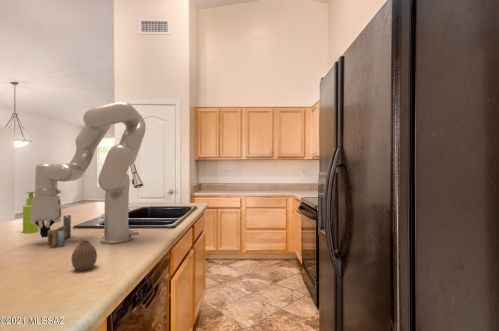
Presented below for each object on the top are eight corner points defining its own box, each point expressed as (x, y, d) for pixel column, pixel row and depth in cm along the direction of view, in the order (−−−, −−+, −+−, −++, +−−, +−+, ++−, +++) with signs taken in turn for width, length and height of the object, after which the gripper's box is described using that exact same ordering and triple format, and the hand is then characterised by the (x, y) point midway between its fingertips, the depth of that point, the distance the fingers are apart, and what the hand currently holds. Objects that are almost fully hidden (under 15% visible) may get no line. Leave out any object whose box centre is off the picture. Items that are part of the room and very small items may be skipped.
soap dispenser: (31, 233, 131) (31, 192, 132) (19, 233, 133) (20, 192, 133) (42, 231, 137) (43, 191, 137) (31, 230, 139) (31, 191, 139)
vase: (91, 263, 91) (91, 237, 91) (100, 268, 87) (100, 240, 87) (68, 269, 86) (68, 241, 86) (76, 274, 82) (76, 245, 82)
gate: (62, 236, 122) (62, 223, 122) (68, 236, 123) (68, 223, 123) (47, 245, 108) (47, 230, 108) (54, 245, 108) (54, 230, 108)
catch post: (64, 245, 112) (64, 230, 112) (63, 246, 110) (63, 231, 110) (59, 245, 112) (59, 231, 112) (57, 247, 110) (57, 232, 110)
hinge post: (71, 236, 126) (71, 215, 126) (69, 238, 124) (69, 216, 124) (64, 237, 125) (64, 215, 125) (62, 238, 123) (62, 216, 123)
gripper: (69, 192, 121) (68, 233, 120) (28, 192, 116) (27, 235, 116) (64, 193, 113) (62, 237, 113) (20, 194, 109) (19, 240, 108)
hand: (45, 236), depth 114 cm, fingers closed
